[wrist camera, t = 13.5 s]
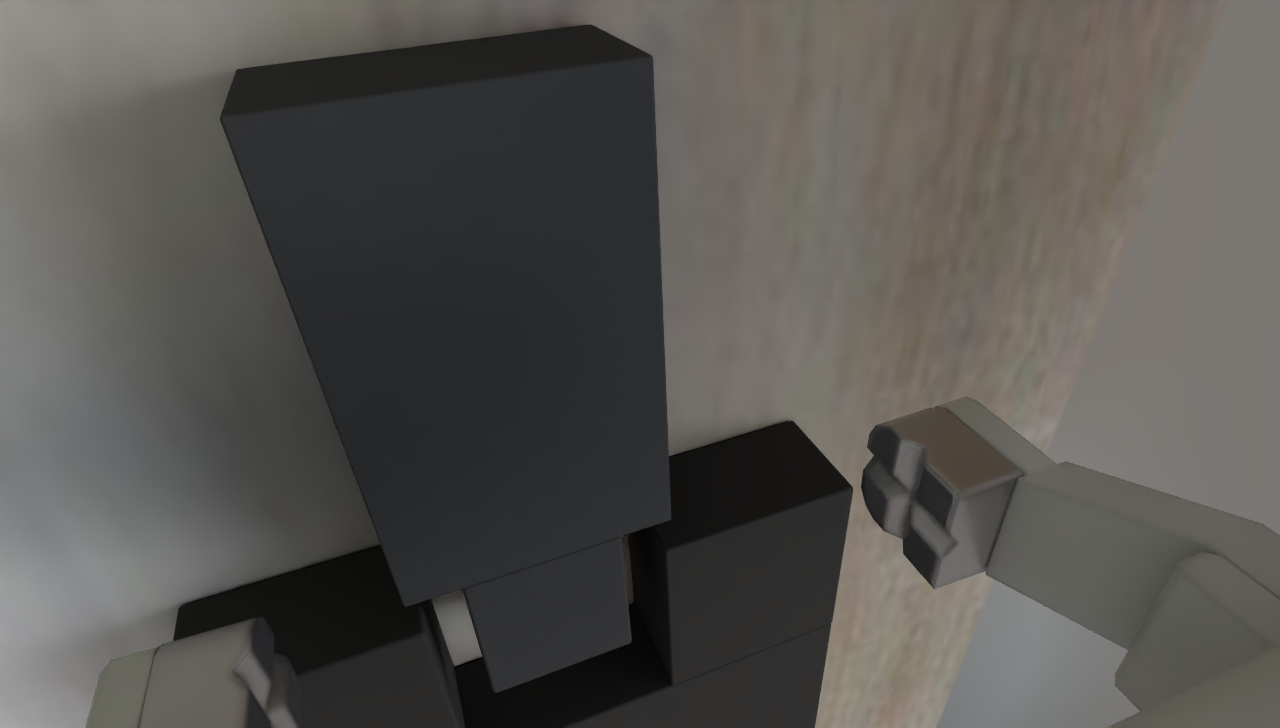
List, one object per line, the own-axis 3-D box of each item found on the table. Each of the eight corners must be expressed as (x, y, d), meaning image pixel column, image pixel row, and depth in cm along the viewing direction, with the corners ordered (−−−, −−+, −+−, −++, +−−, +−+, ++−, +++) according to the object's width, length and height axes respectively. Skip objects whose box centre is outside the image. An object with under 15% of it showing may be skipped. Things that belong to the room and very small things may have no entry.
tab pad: (592, 23, 13) (654, 54, 11) (635, 545, 21) (676, 627, 19) (235, 69, 12) (218, 116, 9) (427, 614, 20) (444, 713, 17)
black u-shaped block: (793, 419, 21) (854, 487, 18) (768, 693, 29) (809, 765, 26) (177, 605, 17) (156, 724, 14) (349, 866, 25) (354, 970, 22)
